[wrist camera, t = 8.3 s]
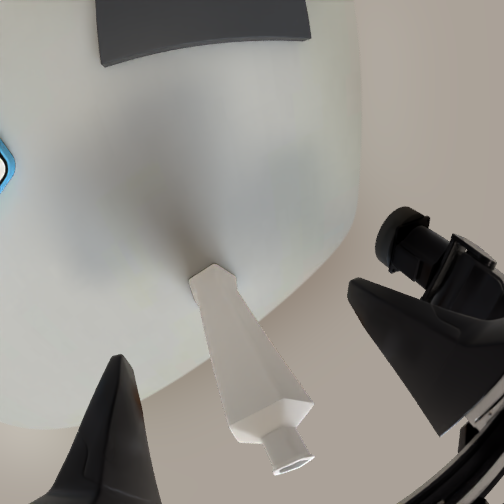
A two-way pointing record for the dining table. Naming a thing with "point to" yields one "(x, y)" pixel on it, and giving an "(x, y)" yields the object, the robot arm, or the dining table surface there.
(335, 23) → the dining table surface
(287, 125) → the dining table surface
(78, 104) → the dining table surface
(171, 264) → the dining table surface
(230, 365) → the perfume bottle
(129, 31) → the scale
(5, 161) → the smartphone
